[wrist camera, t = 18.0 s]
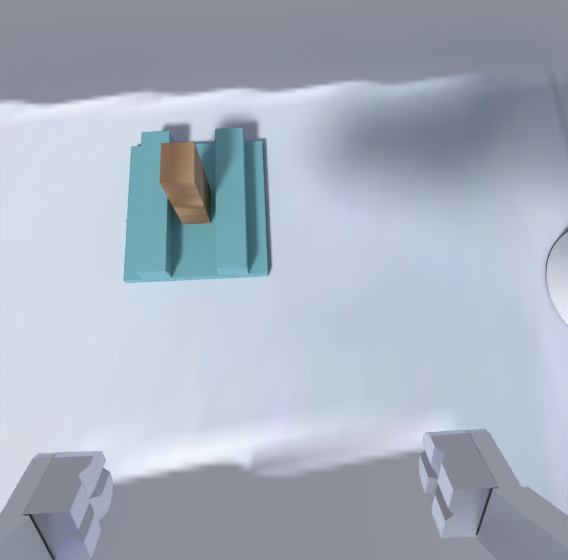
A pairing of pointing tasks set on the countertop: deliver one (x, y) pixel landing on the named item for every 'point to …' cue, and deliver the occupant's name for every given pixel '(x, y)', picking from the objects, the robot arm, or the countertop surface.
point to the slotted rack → (198, 237)
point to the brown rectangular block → (185, 182)
